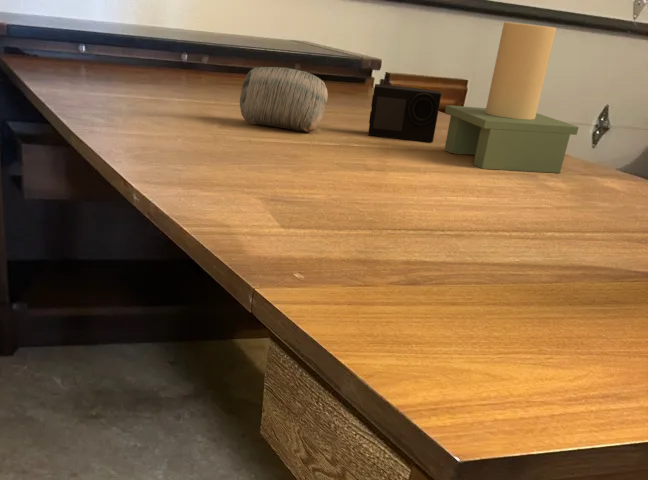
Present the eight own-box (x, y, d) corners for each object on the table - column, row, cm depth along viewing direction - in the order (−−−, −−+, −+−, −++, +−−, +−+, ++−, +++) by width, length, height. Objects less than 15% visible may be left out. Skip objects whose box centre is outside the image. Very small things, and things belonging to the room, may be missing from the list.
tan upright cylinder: (521, 113, 120) (541, 25, 114) (543, 121, 114) (566, 29, 108) (477, 110, 118) (495, 21, 112) (497, 117, 113) (518, 24, 106)
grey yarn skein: (220, 99, 123) (252, 35, 121) (242, 125, 132) (272, 66, 130) (294, 137, 120) (328, 72, 118) (311, 161, 129) (343, 101, 127)
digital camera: (367, 136, 128) (373, 86, 124) (367, 131, 133) (374, 82, 129) (433, 144, 128) (442, 93, 124) (431, 138, 132) (440, 90, 128)
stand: (522, 154, 127) (532, 111, 123) (566, 173, 115) (579, 126, 112) (438, 149, 123) (446, 105, 120) (475, 168, 112) (485, 120, 109)
